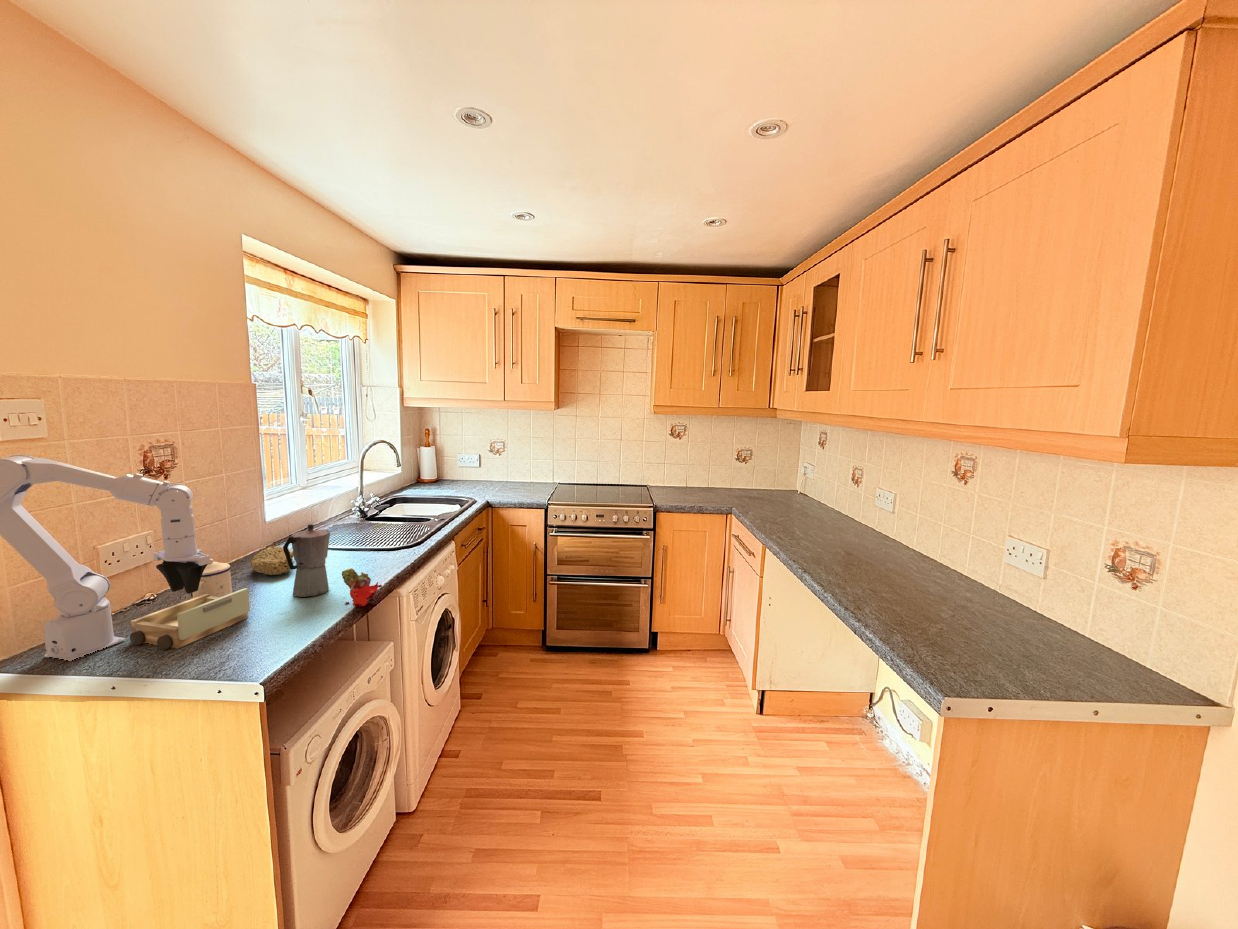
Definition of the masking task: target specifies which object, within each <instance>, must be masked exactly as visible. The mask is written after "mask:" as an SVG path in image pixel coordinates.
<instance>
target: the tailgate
mask: <svg viewBox="0 0 1238 929" xmlns="http://www.w3.org/2000/svg"><path fill="white" fill-rule="evenodd" d="M249 596H250V595H249V588H247V587H244V588H242V589H241V588H240V589H239V590H236V591H234V592H233V591H232V593H231V594H228V595H225V596H223V597H220V598H217V599H215V600H212V601H210V602H207V603H204V604H202V605H199V606H196V607H194V608H191V609H188V610H186V611H183V612H180V613H178V614H177V620H178V629H179V638H180V640H184V639H187V638H189V637H191V636H194V635H196V634H198V633H201V632H203V631H205V630H207V629H210V628H212V627H214V626H217V625H219V624H221V623H224V622H226V621H228V620H231V619H233V618H235V617H238V616H240V615H242V614H245V613H247V612H248V613H249V612H250V611H251V609H250V608H251V607H250V597H249Z"/></svg>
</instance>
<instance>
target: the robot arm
mask: <svg viewBox="0 0 1238 929" xmlns="http://www.w3.org/2000/svg"><path fill="white" fill-rule="evenodd" d="M51 482H52V483H53V482H60V483H65V484H71V485H77V486H82V487H85V488H86V487H87V488H91V489H97V490H102V491H108V492H109V493H110V494H111V495H112V496H113V497H114V498H115V499H118V500H123V501H127V502H131V503H135V504H141V505H145V506H149V507H153V506H156V508H158V509H159V510H160V516H161V519H160V525H161V535H162V544H163V546H162V547H163V550H159V551H155V552H153V561H155V562H158V561H162V563H158V564H156V565H155V568H156V569H157V570H158V571H159V572H160V573H161V574H162V575H163V577H164V578H165V580H166V582H167V584H168V586H169V588H170V590H171V592H178V591H180V590H184V591H185V593H186V594H189V595H191V594H190V593H192V592H195V591H198V588H199V583H200V579H201V576H202V574H203V571H204V569H205V568H206V566H207V565H208V564H209V563H210V559H211V556H210V554H205V553H203V549H199V548H198V545H197V535H196V525H195V522H196V521H195V515H194V514H193V512H194V509H193V506H192V504H191V503H192V502H193V500H194V493H193V491H192V490H191V488H189V487H188V486H186V485H183V484H182V483H172V484H171V481H169V480H164V481H159V480H156V479H150V478H146V477H144V474H142V473H138V472H136V473H134V474H130V473H126V474H124V475H121V476H118V477H117V476H113V475H110V474H107V473H106V474H105V473H103V472H98V471H96V470H95V471H94V470H91V469H87V468H83V467H79V466H75V465H72V464H69V463H66V462H60V461H56V460H54V459H49V458H43V457H34V456H31V455H26V454H13V455H10V456H7V457H1V458H0V537H2V538H3V540H5V542H7V543H8V545H10V546H11V547H12V548H13V549H14V550H15V551H16V552H17V553H18V554H19V555H20V556H21V557H22V558H23V559H24V560H26V562H27V563H29V565H31V567H33V569H35V571H37V572H38V574H40V575H41V576H42V577H43V578H44V579H45V580H46V586H47V592H48V593H49V594H50V595H51V596H52V597H53V601H54V606H55V608H56V609H57V611H59V612H60V614H59V615H57V616H56V617H55V618H53V619H50V620H47V621H46V622H45V623H44V624H43V627H42V628H43V630H42V631H43V632H42V633H43V638H44V645H45V651H46V652H45V654H44V655H43V656H45V658H49V657H54V658H59V659H58V660H60V659H64V660H63V661H66V660H68V661H67V662H73V661H75V660H74V659H76V658H78V659H80V658H79V657H81V658H83V657H85V656H84V655H86V654H89V655H91V654H93V652H94V653H96V652H98V651H97V650H99V651H101V650H104V649H106V647H107V648H109V647H112V646H114V645H116V644H119V643H121V642H124V641H126V638H125V637H120V636H115V633H114V626H113V618H112V611H111V603H110V600H109V599H107V598H106V595H107V594H108V593H109V591H110V589H111V582H110V580H109V579H108V578H107V576H105V575H102V574H99V573H96V572H95V571H93V570H92V569H91V568H90V566H86V565H84V564H81V563H79V562H78V561H77V560H76V559H75V558H73V556H72V555H70V553H69V552H68V551H67V550H66V549H65V548H64V547H63V546H62V545H61V544H60V543H59V542H58V541H57V540H56V539H55V538H54V537H53V536H52V535H51V534H50V533H49V532H48V531H47V530H46V529H45V527H43V525H41V524H40V523H39V522H38V521H37V520H36V519H35V518H34V516H32V514H31V513H30V512H29V511H27V509H25V507H23V505H22V502H23V500H24V498H25V496H26V494H27V492H28V490H29V489H30V488H32V486H33V485H37V484H38V485H39V484H44V483H51ZM103 648H104V649H103ZM95 651H96V652H95ZM90 653H91V654H90ZM86 656H87V655H86ZM54 658H53V659H54ZM72 660H73V661H72ZM76 660H77V659H76Z"/></svg>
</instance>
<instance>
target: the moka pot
mask: <svg viewBox="0 0 1238 929" xmlns="http://www.w3.org/2000/svg"><path fill="white" fill-rule="evenodd" d="M314 526H315V525H314V524H311V523H310V524H307V530H303V531H302V530H301V531H298V532H295V533H294V534H293V533H292V534H291V535H290V536H288V538H287V540H286V542H284V544H283V546H282V547H283V550H284V552H285V555H286V558H287V561H288V565H289V567H290V570H291V571H292V570H295V576H294V583H293V590H292V595H293V596H295V597H299V598H302V597H303V598H307V597H314V596H318V595H323V594H324V593H327V592H329V590H328V589H330V588H329V581H328V575H327V574H328V573H327V566H326V559H327V557H328V554H329V553H328V552H329V543H330V537H331V536H330V535H331V532H330V531H329V529H314ZM290 544H291V546H292V547H291V548H292V550H293V555H294V556H293V561H295V565H294V564H293V563H294V562H293V563H292V561H291V557H290V551H289V549H290V548H289V545H290ZM288 548H289V549H288Z"/></svg>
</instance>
